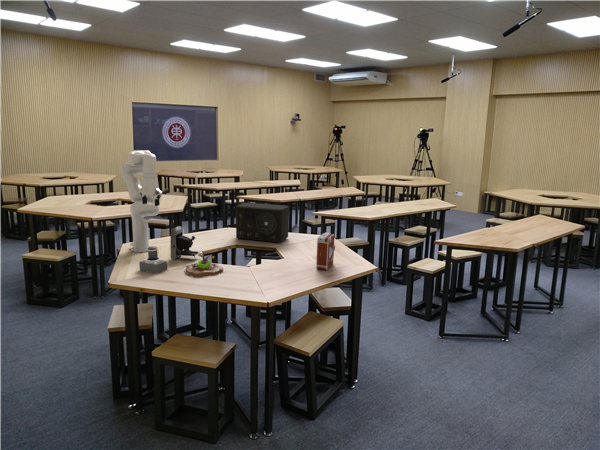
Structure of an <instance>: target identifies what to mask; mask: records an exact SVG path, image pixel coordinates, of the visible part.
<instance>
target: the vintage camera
mask: <svg viewBox="0 0 600 450" xmlns="http://www.w3.org/2000/svg"><path fill="white" fill-rule="evenodd" d="M183 228H184V227H183V226H181V225H178V226H176V227H172V228H171V230H170V245H169V247H170V255H169V256H170V259H171V260H176V259H178V258H179V257H181V256H182V257H183V256H185V257H194V258H196V256H198V254H200V253H201V252H199V251H197V250H196V251H193V250H191V248H192V246H193V244H194V241H195V239H196V236H194V235H192V236H191V238H190V237H188V236H186V235H184V234H183V232H184V229H183Z"/></svg>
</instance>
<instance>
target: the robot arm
mask: <svg viewBox="0 0 600 450" xmlns="http://www.w3.org/2000/svg"><path fill="white" fill-rule="evenodd" d="M127 159H128V160H127V161H126V162H123V163H121V165H120V172H121V176H122V179H123V181H125V184H126V186H127V187H126V188H127V190H128V196H129V199H130V201H131V202H132V203H131V204H130V207H129V210H130V215H131V221H132V223H131V224H132V225H131V226H132V241H131V243H129V245H130V246H131V248H130V249H131V252H134V253H144V252H145V253H146V252H148V247H151V245H150V243H149V223H148V221H147V220H146V219H145V217H154V216H155V217H156V216H157V215H158V214H159V212H160V208H159V206H161V205H160V203H161V202H160V199H161V197H162V195H163V191H162V190H160V187H159V180H158V178H157V177H158V176H157V157H156V155H155V154H154V153H151V151H150V150H148V149H147V150H145V149H144V150H143V149H140V150H139V149H135V150H131V151H130V152H128V154H127ZM135 175H142V178H141V181H140V179H138V178H137V177H136V176H135Z"/></svg>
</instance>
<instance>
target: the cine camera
mask: <svg viewBox="0 0 600 450" xmlns="http://www.w3.org/2000/svg"><path fill="white" fill-rule="evenodd" d="M335 251H336V245H335V234H334V233H331V232H324V233H322V234H321V235H319V236H317V241H316V258H315V259H316V263H315V264H316V265H315V267H316V270H320V271H328V270H330V268H332V266H333V265H334V258H335V257H334V256H335V255H334V254H335Z"/></svg>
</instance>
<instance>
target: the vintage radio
mask: <svg viewBox="0 0 600 450" xmlns="http://www.w3.org/2000/svg"><path fill="white" fill-rule="evenodd" d="M235 208H236V209H235V210H236V212H235V227H236V230H235V237H236V239H239V240H243V239H244V240H253V241H263V242H273V243H275V244H279V243H282V242H283V241H284V240H286V239H287V238H288V237H289V221H290V220H289V217H290V214H289V213H290V206H289V205H280V204H268V203H254V202H243V203H240V204H238V205H236V207H235Z"/></svg>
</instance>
